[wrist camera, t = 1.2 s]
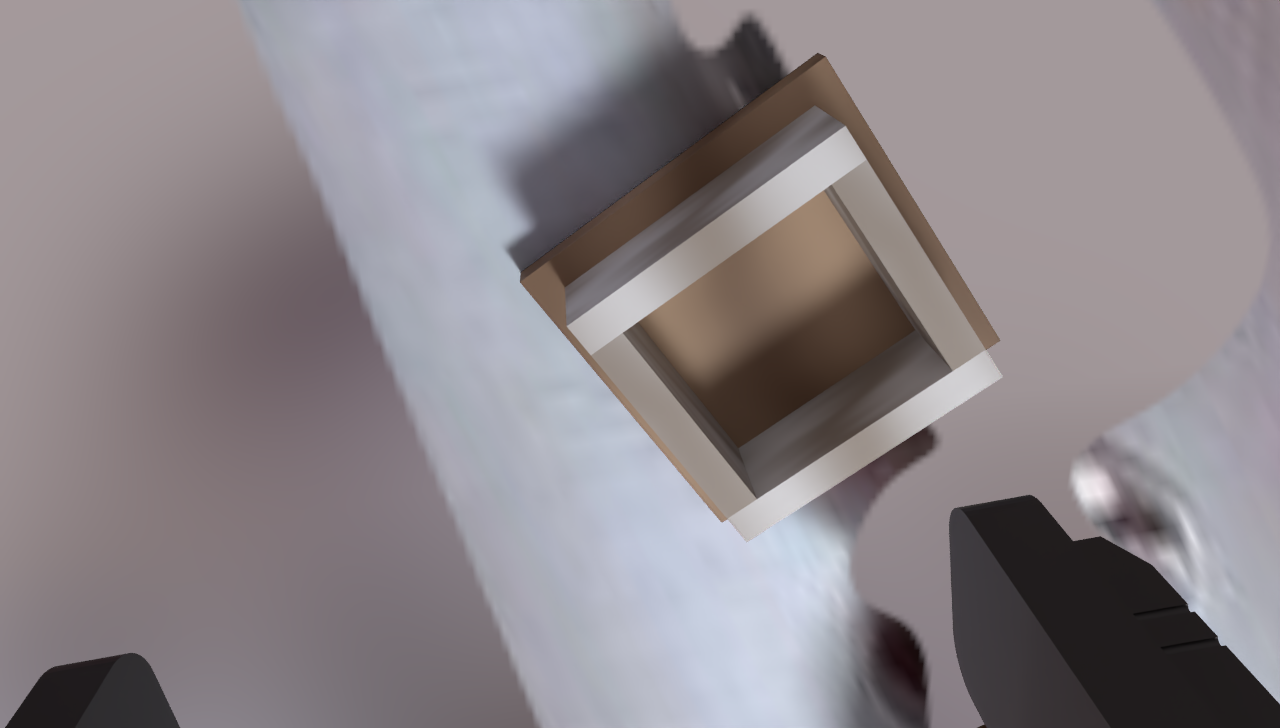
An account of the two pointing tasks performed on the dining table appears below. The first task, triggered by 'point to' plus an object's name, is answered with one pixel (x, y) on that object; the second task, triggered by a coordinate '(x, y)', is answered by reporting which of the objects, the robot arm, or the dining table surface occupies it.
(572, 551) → the dining table surface
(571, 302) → the box
